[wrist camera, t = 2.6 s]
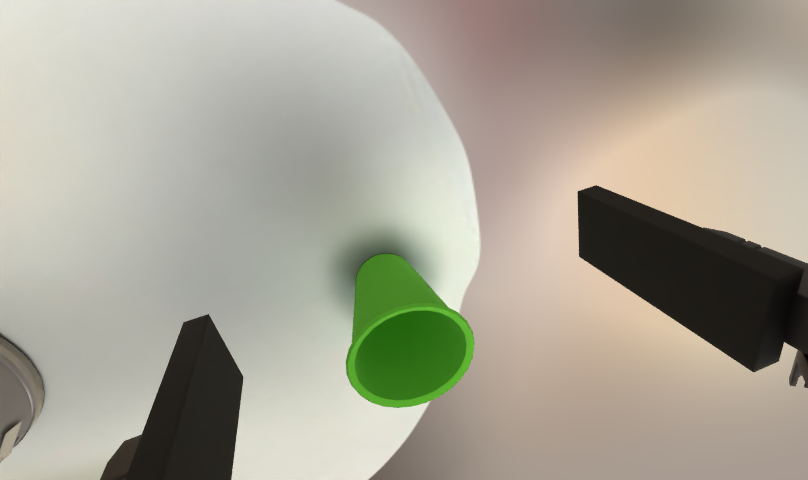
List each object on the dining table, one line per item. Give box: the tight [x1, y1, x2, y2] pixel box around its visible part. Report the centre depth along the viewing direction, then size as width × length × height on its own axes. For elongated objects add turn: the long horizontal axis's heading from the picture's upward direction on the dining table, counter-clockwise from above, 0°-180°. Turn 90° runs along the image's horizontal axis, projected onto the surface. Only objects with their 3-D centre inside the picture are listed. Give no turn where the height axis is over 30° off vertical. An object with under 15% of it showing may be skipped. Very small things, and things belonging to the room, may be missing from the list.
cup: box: [346, 254, 474, 408], centre depth 32 cm, size 9×9×11 cm
